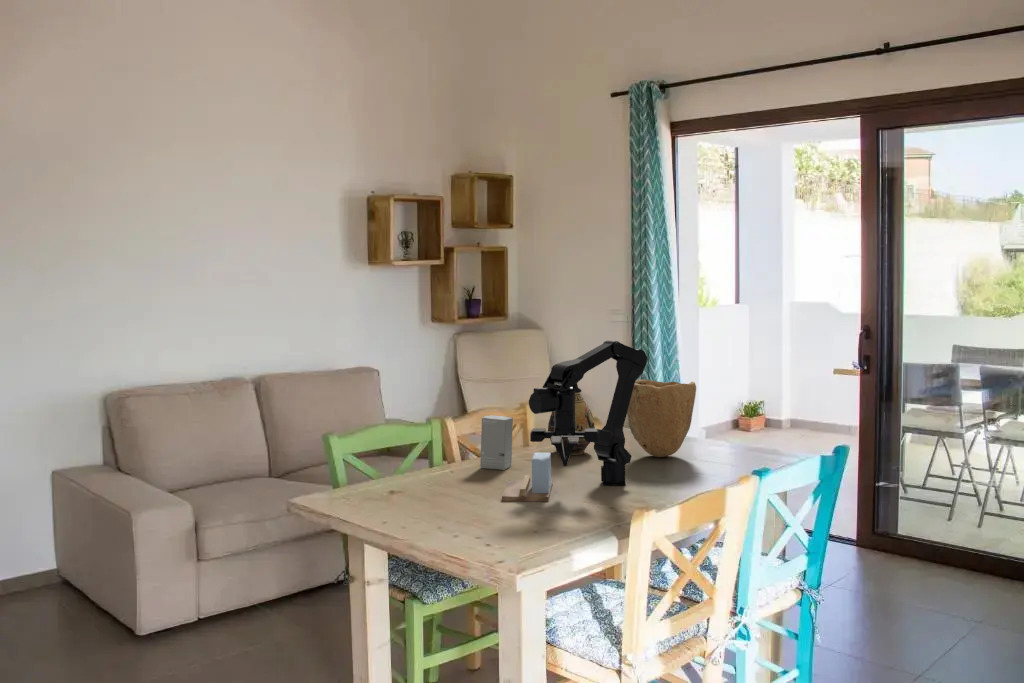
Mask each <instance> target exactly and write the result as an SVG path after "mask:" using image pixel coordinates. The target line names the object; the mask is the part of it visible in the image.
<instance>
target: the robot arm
mask: <svg viewBox="0 0 1024 683" xmlns="http://www.w3.org/2000/svg"><path fill="white" fill-rule="evenodd" d="M610 359H612V360H613V361H616V365H615V369H616V371H617V375H618V376H617V377H618V378H617V380H616V385H615V388H614V391H613V396H612V400H611V404H610V408H609V411H608V416H607V419H606V423H605V425H604V426H603V427H602V429H600V428H595V429H585V432H575V431H576V421H575V393H580V394H581V393H582V389H581V388H579V386H578V387H577V385H578V383H579V382H580V381H581V380H582V379H583V378H584V375H585V374H586V373H588V372H589V371H590V370H593V369H594V368H596V367H598V366H599V365H601V364H603V363H604V362H607V361H608V360H610ZM647 362H648V356H647V355H646V352H645V351H644V350H643V349H638V348H633V347H630V346H628V345H625V344H624V343H622V342H620V341H617V340H607V339H606V341H604V342H603V343H602V344H599V345H598V346H596V347H594V348H593V349H590V350H589V351H587V352H585V353H584V354H582V355H580V356H578V357H577V358H574V359H569V360H565V361H560V362H557V363H555V364H554V365H552V367H551V370H550V373H549V374H548V377H547V378H546V379H545V382H544V383H543V385H542V387H541V388H539V387H535V388H533V392H532V393H531V395H530V397H529V399H528V406H529V410H530V411H531V413H532V414H534V415H539V414H545V413H552V412H554V415H551V414H550V416H551V417H550V416H549V420H550V426H551V427H554V431H555V432H548V431H547V430H546V428H543V427H540V428H539V427H537V428H536V427H535V428H532V429H531V431H530V433H529V438H530V439H529V441H530V442H531V443H534V442H536V443H540V442H543V441H544V440H545V439H550V438H551V440H552V442H551V440H550V444H551V445H552V446H554V445H555V446H556V448H557V450H558V452H559V454H558V455H559V456H560V460H561V464H562V466H563V467H567V466H568V463H569V460H570V457H571V456H570V454H571V451H572V449H573V447H574V445H578V441H579V439H585V440H586V441H587V442H590V443H593V451H595V453H596V456H597V459H598V461H599V462H600V461H601V462H602V465H601V466H600V479H601V481H600V482H602V485H603V486H626V485H627V480H626V465H628V464H631V460H632V455H631V453H630V452H629V451H628V450H627V449H626V448H625V445H626V438H625V433H624V427H625V422H626V417H627V416H628V415H627V411H628V407H629V403H630V399H631V396H632V392H633V388H634V384H635V381H636V380H639V378H640V376H642V374H643V372H644V370H645V368H646V366H647ZM576 383H577V385H576ZM562 438H568V442H567V450H566V455H564V447H563V439H562ZM555 446H554V447H555ZM556 448H555V449H556Z"/></svg>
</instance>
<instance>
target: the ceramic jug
mask: <svg viewBox="0 0 1024 683" xmlns="http://www.w3.org/2000/svg"><path fill="white" fill-rule="evenodd" d="M576 385H577V387H578V388H579V384H578V383H576ZM551 415H554V412H550V416H549V418H550V417H551ZM575 421H576V431H575V432H585V429H596V426H595V419H594V416H593V413H592V410H591V408H590V407H589V405H588V403H587V401H586V400H585V398H584V397H583V396H582V394H581V392H580V393H575ZM547 432H555V431H554V427H551V426H550V419H548V426H547ZM562 439H563V447H564V455H565V456H566V450H567V442H568V438H562ZM549 440H550V443H551V442H552V440H551V438H549ZM590 444H591V442H587V441H586V440H585V439H579V441H578V445H574V447H573V449H572V451H571V454H570V457H571V456H579V455H583V454H584V452H585V451H586V449H587V448H588V446H589V445H590ZM553 446H554V448H555V452H556V454H557V455H559V452H558V450H557V448H556V446H555V445H553Z"/></svg>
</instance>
